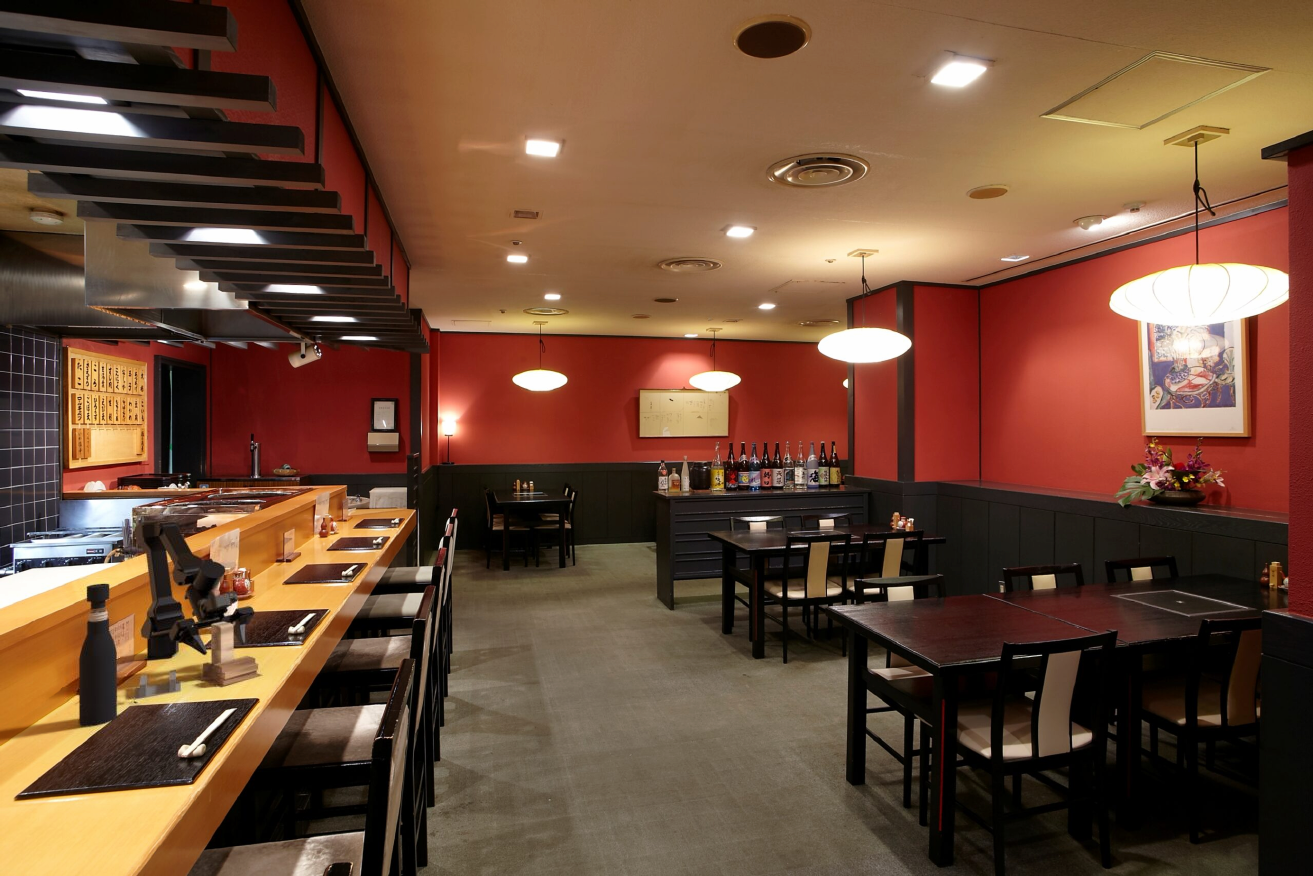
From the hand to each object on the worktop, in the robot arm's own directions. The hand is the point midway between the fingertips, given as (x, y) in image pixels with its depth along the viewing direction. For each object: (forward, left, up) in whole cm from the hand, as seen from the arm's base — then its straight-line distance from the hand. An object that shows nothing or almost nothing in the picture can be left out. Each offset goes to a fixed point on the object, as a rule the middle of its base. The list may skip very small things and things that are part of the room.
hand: (225, 649), depth 174 cm
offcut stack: (+3, -4, -7) cm, 9 cm away
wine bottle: (-20, -20, -8) cm, 29 cm away
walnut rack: (+1, -2, -8) cm, 8 cm away
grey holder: (-13, -6, -8) cm, 16 cm away
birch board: (-1, +1, -7) cm, 7 cm away
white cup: (-12, +52, -8) cm, 54 cm away
